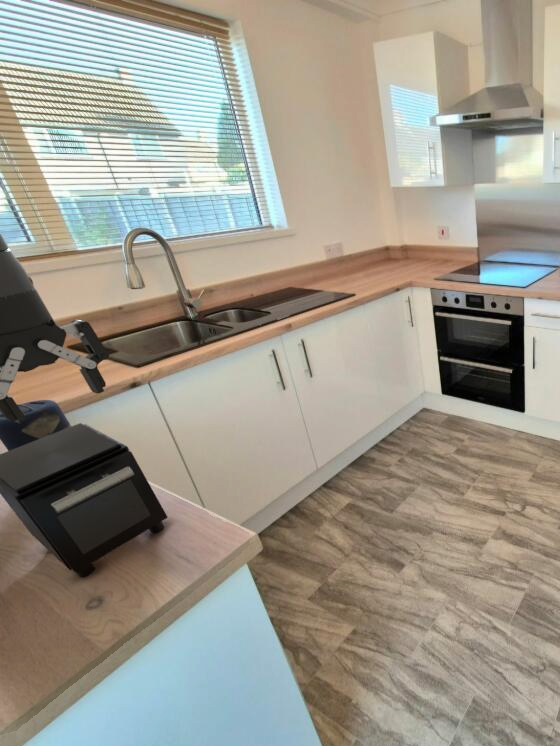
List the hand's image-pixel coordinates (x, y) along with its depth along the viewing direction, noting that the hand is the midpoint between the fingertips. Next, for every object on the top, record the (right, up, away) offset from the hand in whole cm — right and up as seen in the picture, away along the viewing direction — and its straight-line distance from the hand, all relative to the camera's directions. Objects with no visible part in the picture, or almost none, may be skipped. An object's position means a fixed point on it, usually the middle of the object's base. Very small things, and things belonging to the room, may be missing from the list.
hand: (61, 405), depth 60 cm
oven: (-7, -24, +15) cm, 29 cm away
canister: (-31, -17, +31) cm, 47 cm away
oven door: (+2, -23, +8) cm, 25 cm away
